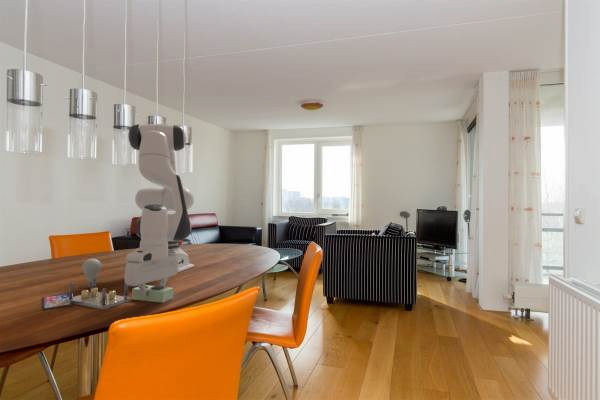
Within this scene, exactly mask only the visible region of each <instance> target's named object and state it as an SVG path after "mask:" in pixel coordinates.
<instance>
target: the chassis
mask: <svg viewBox="0 0 600 400" xmlns="http://www.w3.org/2000/svg"><path fill="white" fill-rule="evenodd" d="M68 286H69V288H68V294H69V298H68V299H66V301H71V302H72V305H79V306H84V307H87V308H93V309H99V310H107V309H109V308H112V307H116V306H119V305H122V304H125V303H128V302H131V301H132V297H129V295H128V294H129V286H128V285H126V283H125V282H124V289H123V292H124V295H117V291H116V290H109V291H108V293H107V288H105V287H104V288H102V289H101V290H102V291H101V292H100V291H99V289H98V287H97V280H96V278H93V285H92V288H90V290H89V289H83V290H81V295H75V296H74V283H73V282H69V285H68Z"/></svg>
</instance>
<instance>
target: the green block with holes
mask: <svg viewBox="0 0 600 400" xmlns="http://www.w3.org/2000/svg"><path fill="white" fill-rule="evenodd" d="M145 289H146V290H148V296H145V297H142V296H141V291H140V289H139V287H138V286H135V287H134V288H132V290H131V291H132V293H131V294H132V296H131V300H136V301H145V302H153V303H163V304H164V303H165V302H168V301H170V300H172V299H174V290H175V289H174V287H169V286H165V287H163V286H159V285H149V284H146V286H145Z"/></svg>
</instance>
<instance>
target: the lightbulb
mask: <svg viewBox="0 0 600 400" xmlns="http://www.w3.org/2000/svg"><path fill="white" fill-rule="evenodd" d="M81 268H82V269H81V270H82V271H83V273H84V275H85V277H86V282H87V287H88V288H89V289H91V288H92V285H93V278H96V281H97V280H98V276H99V273H100V271H101V270H102V263H101V261H100V260H98V259H97V258H89V259H87V260H85V261H84V262H83V263H82V266H81Z"/></svg>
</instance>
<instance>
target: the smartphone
mask: <svg viewBox="0 0 600 400" xmlns="http://www.w3.org/2000/svg"><path fill="white" fill-rule="evenodd" d="M68 298H69V293H61V294H53V295H47V296H43V297H42V311H47V310H56V309H63V308H64V309H65V308H70V307H73V304H72V302H71V301H66V299H68Z"/></svg>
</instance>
